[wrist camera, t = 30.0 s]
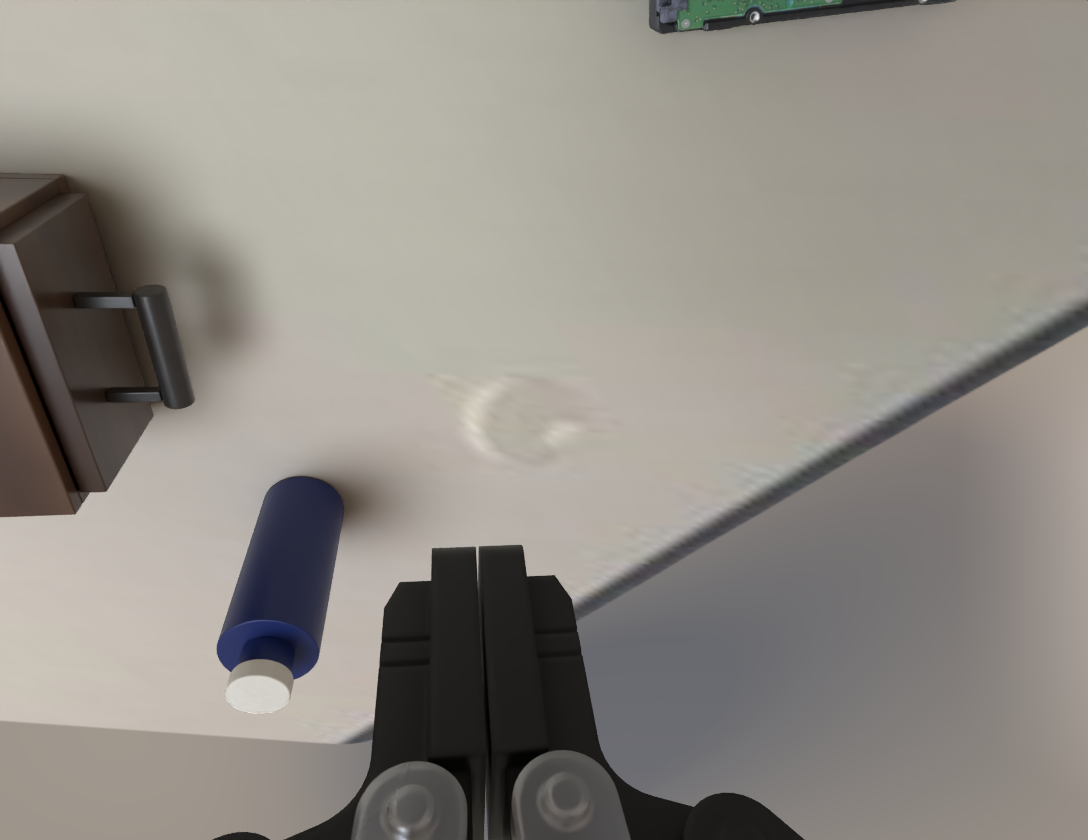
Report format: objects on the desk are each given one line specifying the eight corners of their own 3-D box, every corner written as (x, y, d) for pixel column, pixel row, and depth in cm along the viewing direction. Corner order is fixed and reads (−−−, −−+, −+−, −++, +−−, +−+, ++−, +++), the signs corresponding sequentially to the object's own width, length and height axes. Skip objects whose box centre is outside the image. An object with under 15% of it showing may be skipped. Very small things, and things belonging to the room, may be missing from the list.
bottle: (250, 485, 44) (183, 675, 33) (329, 468, 44) (288, 652, 33) (281, 542, 47) (229, 735, 36) (354, 526, 47) (326, 714, 36)
